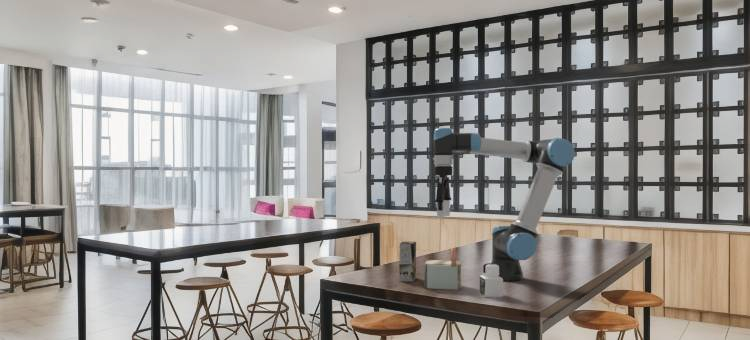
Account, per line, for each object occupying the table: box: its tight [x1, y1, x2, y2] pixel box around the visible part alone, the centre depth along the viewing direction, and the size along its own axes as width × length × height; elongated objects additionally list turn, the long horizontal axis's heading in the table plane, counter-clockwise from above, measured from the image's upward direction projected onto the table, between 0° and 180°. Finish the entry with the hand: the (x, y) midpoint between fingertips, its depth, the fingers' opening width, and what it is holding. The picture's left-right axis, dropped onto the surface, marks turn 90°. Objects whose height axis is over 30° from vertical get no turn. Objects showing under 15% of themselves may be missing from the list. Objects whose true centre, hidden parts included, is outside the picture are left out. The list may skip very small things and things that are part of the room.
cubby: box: [424, 259, 462, 291], centre depth 231 cm, size 14×9×10 cm, turn 80°
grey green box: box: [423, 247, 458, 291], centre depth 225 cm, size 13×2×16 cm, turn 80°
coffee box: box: [398, 241, 417, 283], centre depth 246 cm, size 9×6×16 cm
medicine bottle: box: [479, 262, 504, 298], centre depth 216 cm, size 7×7×12 cm
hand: (443, 217), depth 233 cm, fingers open, 13 cm apart
